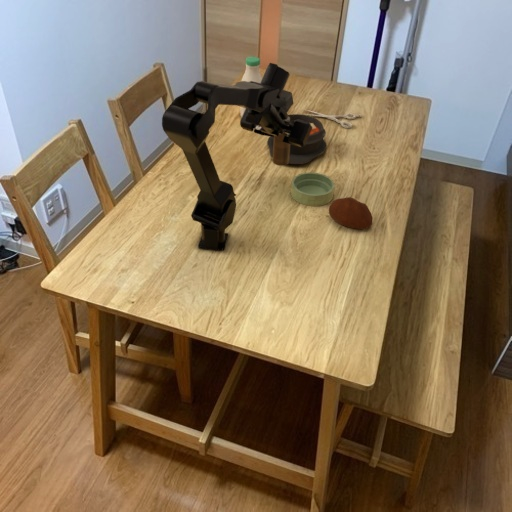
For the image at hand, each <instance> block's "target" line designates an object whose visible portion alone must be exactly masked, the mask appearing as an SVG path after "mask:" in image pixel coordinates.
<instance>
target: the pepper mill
mask: <svg viewBox="0 0 512 512" xmlns="http://www.w3.org/2000/svg"><path fill="white" fill-rule="evenodd" d="M285 121H287V122H289V121H290V117H289V116H288V118H287V120H285ZM286 126H287V125H286ZM288 126H289V125H288ZM284 132H285V131H284ZM284 137H285V133H284V134H283V135H282V134H279V135H278V137H277V136H274V145H273V158H272V163H273V164H274V165H276V166H286V165H288V164H290V163H289V156H290V144H288V143H285V142H283V139H284Z"/></svg>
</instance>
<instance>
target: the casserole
mask: <svg viewBox="0 0 512 512" xmlns="http://www.w3.org/2000/svg"><path fill="white" fill-rule="evenodd" d="M288 115H289V117H290V120H293V121H296V120H297V119H300V120H303V121H307V122H310V124H311V126H312V130H311V132H310V135H309V137H308V139H307V142H306V144H305V146H304V147H299V146H295V145H293V144H290V156H289V163H288V164H291V165H305V164H308V163H309V162H311V161H312V160H313V159H314V158H316V157H318V156H320V155H323V153H324V152H325V151H326V150H327V142H326V140H325V137H326V134H327V133H326V129H325V127H324V124H323V123H322V122H321V121H320V120H319V119H318V118H316V117H314V116H312V115H305V114H301V113H300V114H299V113H297V114H296V113H292V114H288ZM266 144H267V147H268V149H269V153H270V157H271V158H272V159H273V145H274V137H272V136H268V138H267V141H266Z"/></svg>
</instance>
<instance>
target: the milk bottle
mask: <svg viewBox="0 0 512 512" xmlns="http://www.w3.org/2000/svg"><path fill="white" fill-rule="evenodd" d="M260 64H261V59H260V58H259V57H258V56H248V57H246V59H245V71H244V73H243V75H242V78H241V81H247V82H250V81H253V82H257V83H261V80H262V78H263V76H262V74H261V71H260V66H261V65H260ZM245 109H246V108H243V107H240V106H239V111H240V112H239V116H240V119H241V118H242V116H243V113H244V111H245Z"/></svg>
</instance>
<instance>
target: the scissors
mask: <svg viewBox="0 0 512 512" xmlns="http://www.w3.org/2000/svg"><path fill="white" fill-rule="evenodd" d="M306 111H307V112H311V114H308V113H307V114H306V113H304V115H307V116H311V117H320V118H326V119H328V120H332V121H334V122H336V123H337V124H340V125H341V127H343V128H345V129H351V128H352V127H353V124H352V123H351V122H348V121H342V120H339V118H344V119H348V120H355V119H356V118H361V117H362V114H354V113H349V112H348V113H345V114H339V115H335V114H324V113H321V112H317V111H314V110H309V109H306Z"/></svg>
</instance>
